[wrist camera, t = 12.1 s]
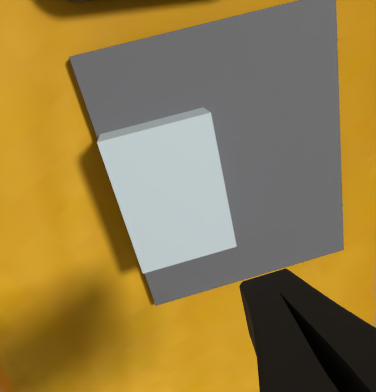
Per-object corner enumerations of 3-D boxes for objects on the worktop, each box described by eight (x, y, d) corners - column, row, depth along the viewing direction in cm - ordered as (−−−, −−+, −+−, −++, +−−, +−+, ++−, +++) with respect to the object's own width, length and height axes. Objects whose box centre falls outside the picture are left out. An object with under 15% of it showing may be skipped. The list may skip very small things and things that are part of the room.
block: (236, 246, 17) (142, 273, 17) (228, 231, 18) (141, 256, 18) (210, 112, 14) (96, 142, 14) (203, 107, 16) (99, 134, 15)
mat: (339, 246, 21) (343, 249, 20) (155, 301, 20) (155, 305, 20) (330, -7, 15) (335, -9, 15) (70, 56, 14) (69, 57, 14)
